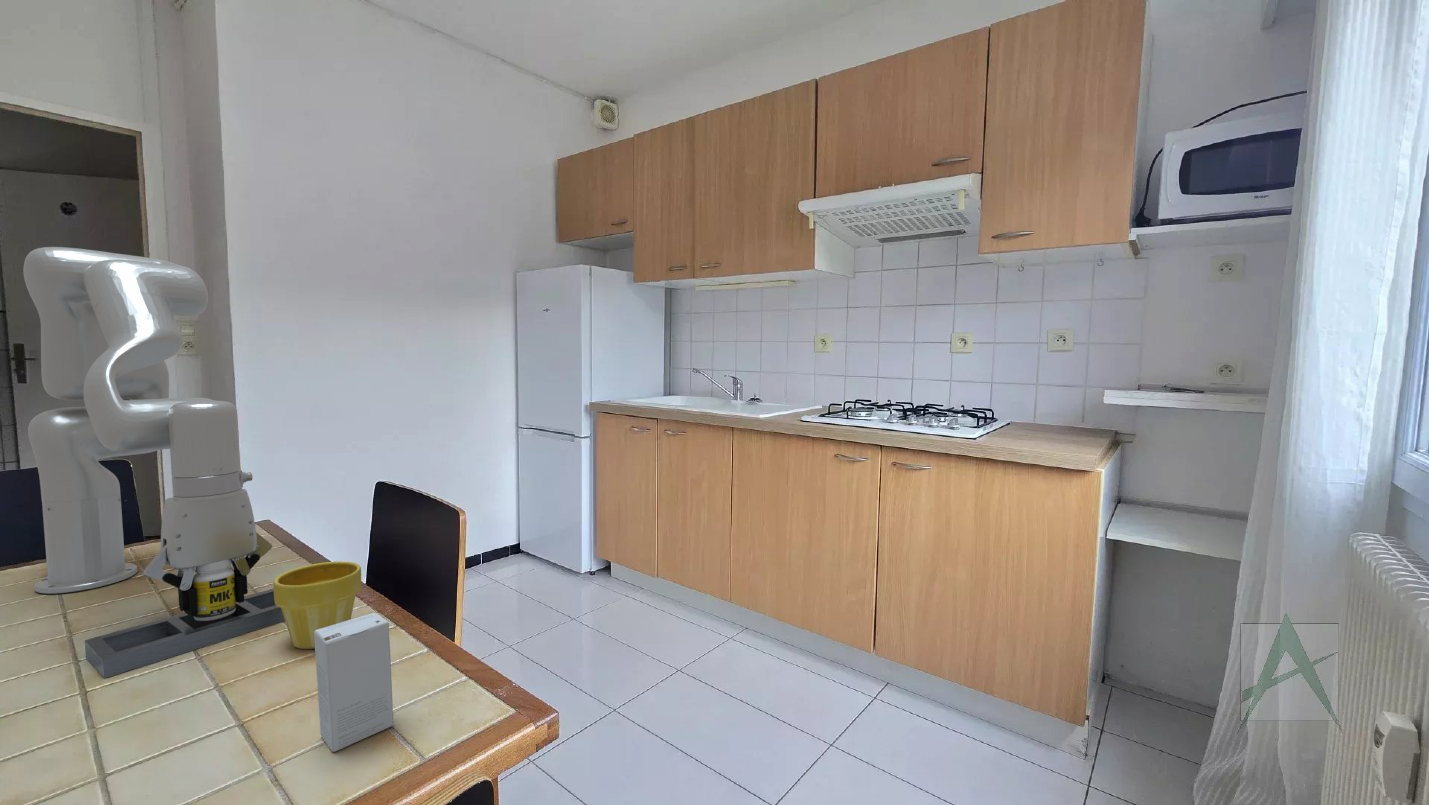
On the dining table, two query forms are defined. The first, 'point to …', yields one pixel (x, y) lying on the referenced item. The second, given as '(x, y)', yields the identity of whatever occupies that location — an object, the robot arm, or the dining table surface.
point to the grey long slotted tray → (178, 635)
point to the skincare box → (353, 680)
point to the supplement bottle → (214, 590)
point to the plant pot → (316, 598)
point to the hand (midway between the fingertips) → (214, 605)
